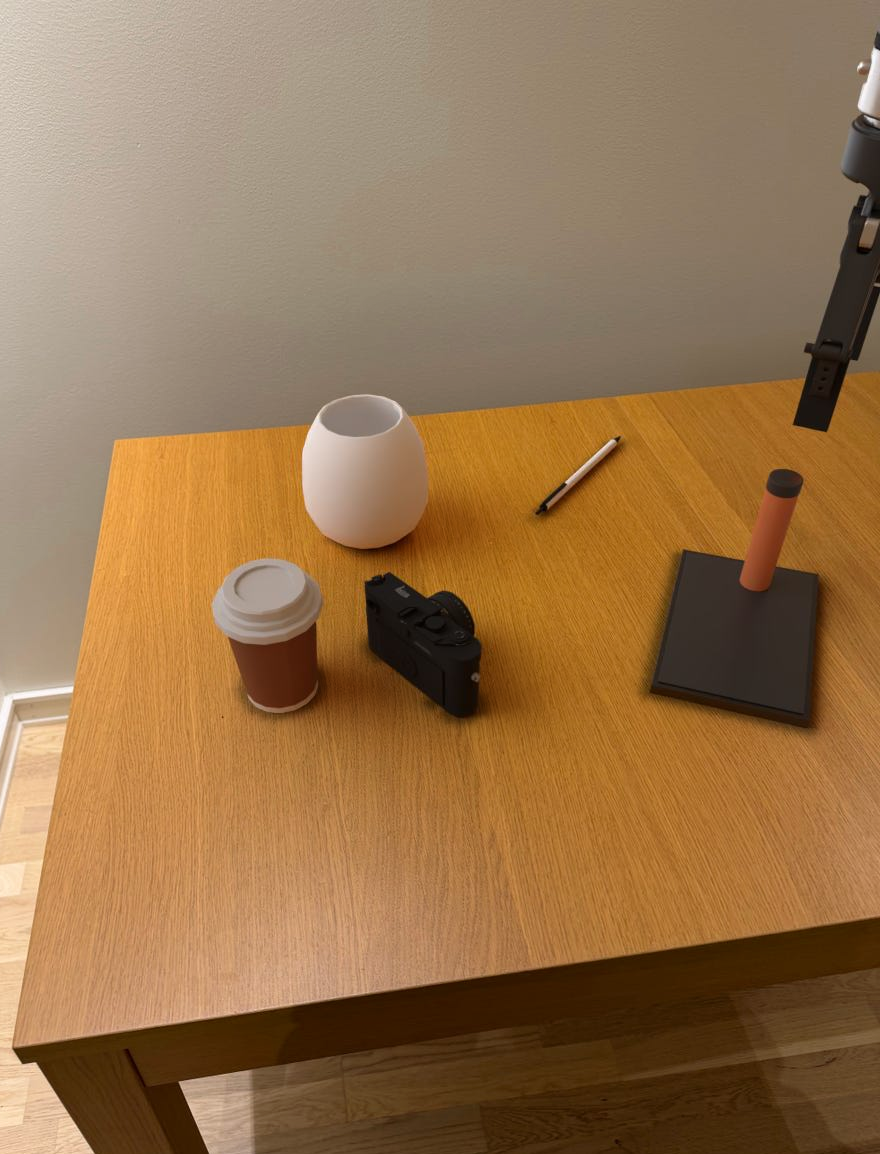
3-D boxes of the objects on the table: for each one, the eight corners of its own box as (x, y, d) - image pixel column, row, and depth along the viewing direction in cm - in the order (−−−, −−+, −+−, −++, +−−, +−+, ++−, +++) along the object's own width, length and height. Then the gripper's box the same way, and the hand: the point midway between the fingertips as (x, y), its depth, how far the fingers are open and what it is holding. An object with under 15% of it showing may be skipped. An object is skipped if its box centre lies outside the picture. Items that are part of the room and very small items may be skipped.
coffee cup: (348, 663, 84) (337, 560, 76) (308, 735, 78) (291, 632, 70) (259, 642, 87) (239, 540, 78) (213, 710, 81) (186, 608, 72)
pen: (533, 515, 100) (533, 507, 99) (616, 438, 110) (617, 430, 110) (540, 518, 99) (541, 509, 98) (623, 440, 110) (624, 432, 109)
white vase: (284, 521, 101) (268, 411, 91) (381, 477, 106) (375, 369, 97) (354, 581, 93) (344, 467, 84) (454, 530, 98) (455, 418, 89)
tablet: (681, 556, 94) (683, 548, 93) (816, 581, 90) (819, 573, 90) (649, 692, 80) (651, 683, 80) (806, 728, 77) (810, 719, 76)
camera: (519, 688, 81) (525, 621, 76) (461, 730, 78) (462, 663, 72) (412, 610, 89) (410, 544, 84) (355, 645, 86) (349, 579, 80)
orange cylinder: (776, 585, 88) (811, 480, 80) (754, 596, 87) (787, 490, 79) (754, 569, 90) (785, 465, 82) (732, 579, 89) (761, 474, 81)
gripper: (883, 72, 74) (813, 323, 89) (818, 163, 59) (746, 449, 74) (986, 79, 72) (896, 338, 86) (946, 177, 56) (845, 472, 71)
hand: (827, 390), depth 80 cm, fingers open, 13 cm apart
